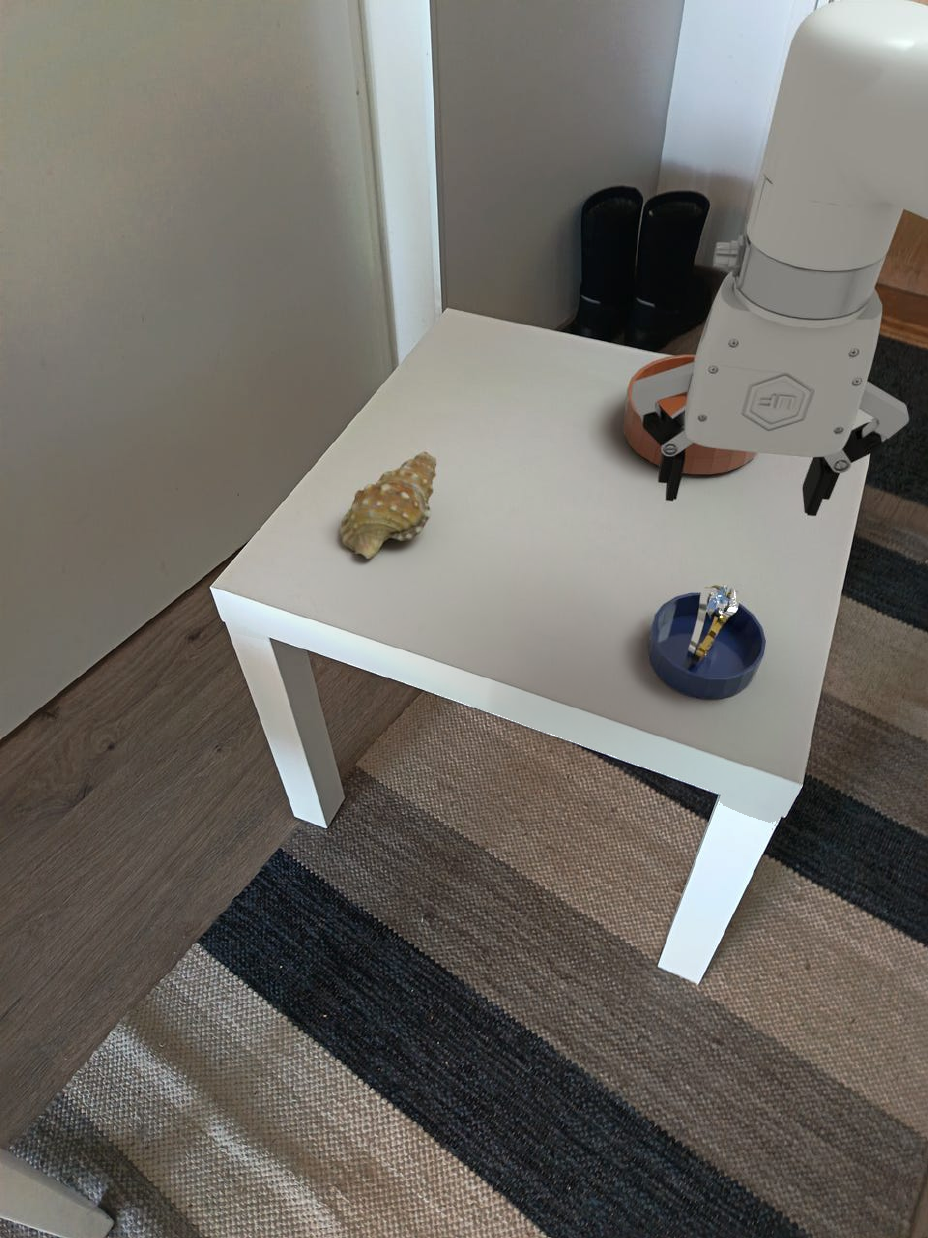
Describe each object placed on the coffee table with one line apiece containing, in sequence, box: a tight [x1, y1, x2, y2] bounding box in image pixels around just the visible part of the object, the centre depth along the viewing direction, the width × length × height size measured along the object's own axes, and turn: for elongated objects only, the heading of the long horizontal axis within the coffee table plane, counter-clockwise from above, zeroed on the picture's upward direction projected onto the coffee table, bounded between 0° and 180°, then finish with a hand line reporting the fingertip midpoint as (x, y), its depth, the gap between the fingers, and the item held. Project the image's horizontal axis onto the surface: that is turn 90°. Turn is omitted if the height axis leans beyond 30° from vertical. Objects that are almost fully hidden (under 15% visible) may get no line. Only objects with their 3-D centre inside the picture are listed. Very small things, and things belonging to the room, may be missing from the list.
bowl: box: [622, 354, 758, 475], centre depth 93 cm, size 15×15×5 cm
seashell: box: [339, 451, 437, 560], centre depth 85 cm, size 9×8×10 cm
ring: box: [686, 583, 740, 666], centre depth 72 cm, size 7×3×8 cm, turn 143°
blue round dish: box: [647, 592, 767, 701], centre depth 74 cm, size 9×9×3 cm
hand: (738, 495), depth 62 cm, fingers open, 9 cm apart
